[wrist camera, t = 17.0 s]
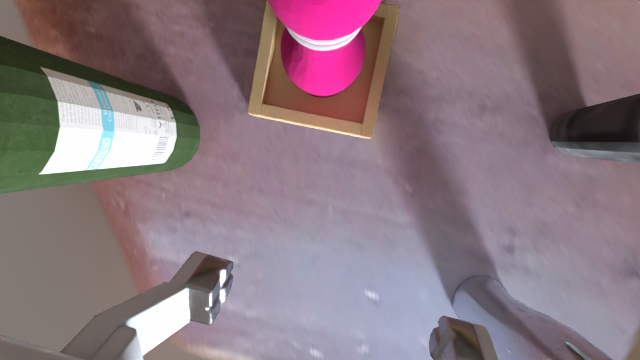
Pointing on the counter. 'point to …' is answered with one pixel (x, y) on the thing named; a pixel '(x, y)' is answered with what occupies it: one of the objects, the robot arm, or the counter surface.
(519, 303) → the beer glass
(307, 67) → the pepper mill
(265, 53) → the tray
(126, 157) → the wine bottle
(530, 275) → the counter surface
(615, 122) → the beverage cup
